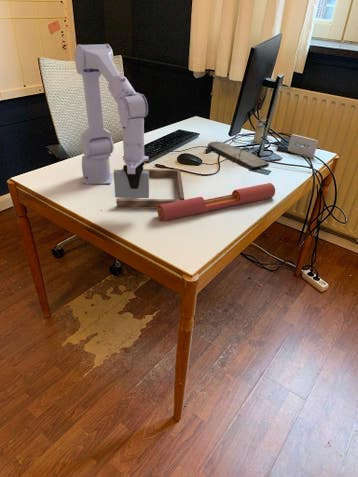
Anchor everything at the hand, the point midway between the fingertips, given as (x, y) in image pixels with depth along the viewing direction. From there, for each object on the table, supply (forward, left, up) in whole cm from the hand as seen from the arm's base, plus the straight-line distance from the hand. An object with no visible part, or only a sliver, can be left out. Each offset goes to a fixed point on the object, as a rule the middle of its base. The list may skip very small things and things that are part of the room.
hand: (134, 186), depth 105 cm
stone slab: (+41, +49, -10) cm, 65 cm away
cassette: (+71, +53, -10) cm, 89 cm away
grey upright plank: (-1, 0, -3) cm, 3 cm away
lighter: (+56, +69, -10) cm, 89 cm away
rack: (+4, +16, -9) cm, 19 cm away
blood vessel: (+27, +5, -10) cm, 29 cm away
